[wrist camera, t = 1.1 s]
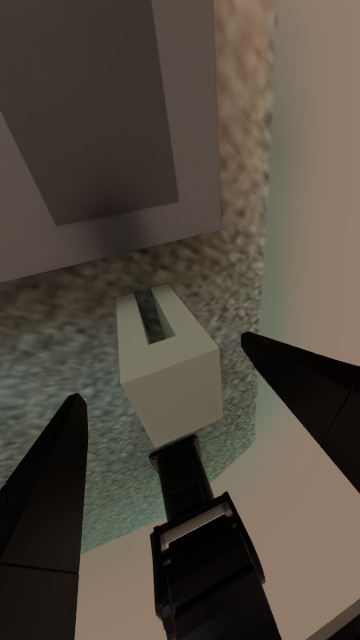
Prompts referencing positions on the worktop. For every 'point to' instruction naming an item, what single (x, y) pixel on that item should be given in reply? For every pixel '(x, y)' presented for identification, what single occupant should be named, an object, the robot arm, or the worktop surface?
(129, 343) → the beige slotted block
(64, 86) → the grey slotted tray
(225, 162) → the worktop surface
